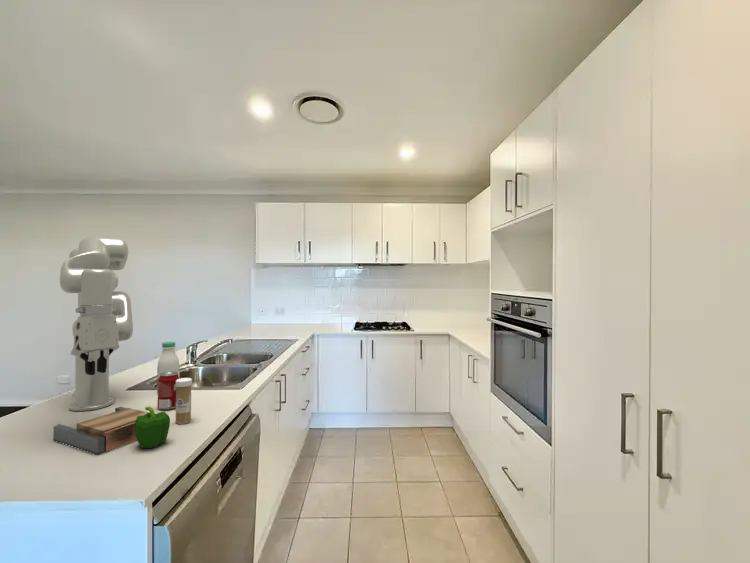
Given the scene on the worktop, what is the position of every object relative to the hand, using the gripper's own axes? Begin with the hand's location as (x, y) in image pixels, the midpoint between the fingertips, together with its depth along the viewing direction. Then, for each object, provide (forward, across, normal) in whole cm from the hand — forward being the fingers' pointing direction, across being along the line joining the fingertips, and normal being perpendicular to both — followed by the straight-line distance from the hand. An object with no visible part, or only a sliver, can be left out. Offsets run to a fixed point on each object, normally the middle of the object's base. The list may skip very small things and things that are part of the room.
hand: (96, 372), depth 110 cm
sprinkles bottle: (+17, +16, -17) cm, 29 cm away
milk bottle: (+17, +35, +15) cm, 42 cm away
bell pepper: (+17, +1, -24) cm, 29 cm away
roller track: (+17, 0, -7) cm, 18 cm away
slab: (+14, 0, -10) cm, 17 cm away
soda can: (+17, +23, -1) cm, 29 cm away
